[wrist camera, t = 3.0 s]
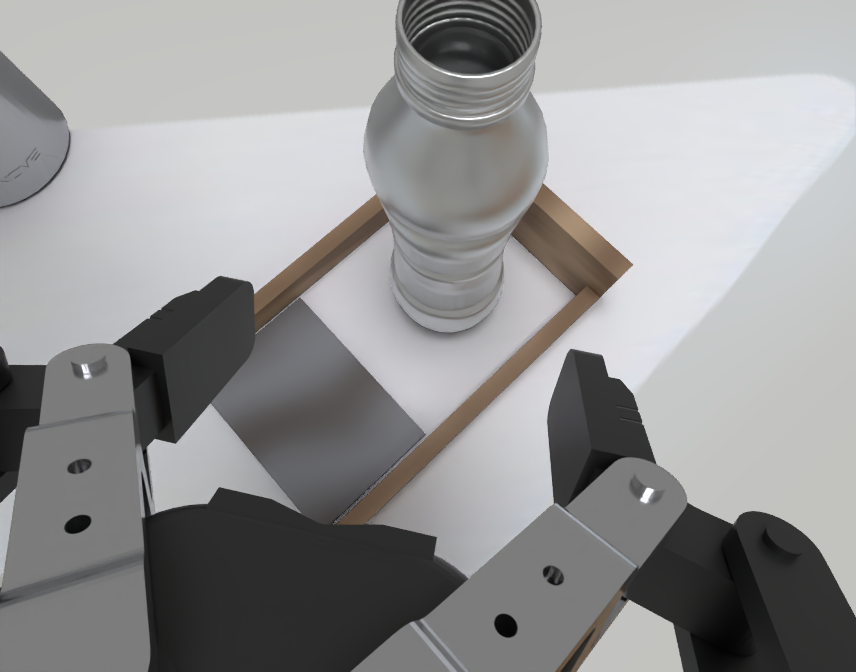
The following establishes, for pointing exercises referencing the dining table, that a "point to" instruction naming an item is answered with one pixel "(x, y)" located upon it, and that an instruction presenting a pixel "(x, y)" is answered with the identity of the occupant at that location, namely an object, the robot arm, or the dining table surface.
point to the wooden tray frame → (356, 388)
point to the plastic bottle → (457, 152)
